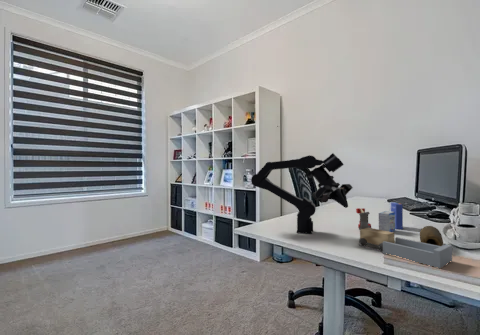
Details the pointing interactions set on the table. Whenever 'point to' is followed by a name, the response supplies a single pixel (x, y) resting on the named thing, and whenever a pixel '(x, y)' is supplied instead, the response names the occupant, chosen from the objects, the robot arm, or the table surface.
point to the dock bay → (418, 251)
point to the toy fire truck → (359, 213)
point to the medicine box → (387, 221)
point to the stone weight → (431, 236)
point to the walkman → (397, 214)
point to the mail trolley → (373, 233)
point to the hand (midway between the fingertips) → (347, 207)
